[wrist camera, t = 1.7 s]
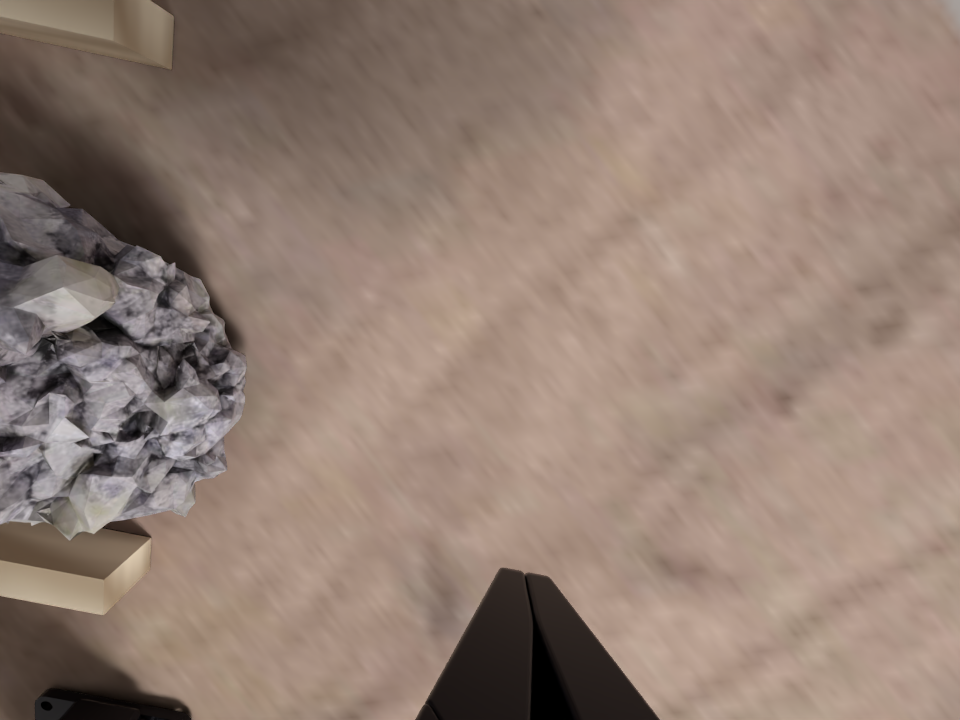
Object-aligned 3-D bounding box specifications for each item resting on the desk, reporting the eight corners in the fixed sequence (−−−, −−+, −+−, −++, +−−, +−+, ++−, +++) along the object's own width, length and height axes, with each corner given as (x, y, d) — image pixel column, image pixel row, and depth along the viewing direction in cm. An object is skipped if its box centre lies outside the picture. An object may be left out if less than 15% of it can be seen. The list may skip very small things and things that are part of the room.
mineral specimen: (-281, 128, 13) (-824, 336, 6) (104, 46, 15) (35, 128, 8) (50, 430, 21) (-17, 669, 14) (269, 349, 23) (307, 521, 16)
